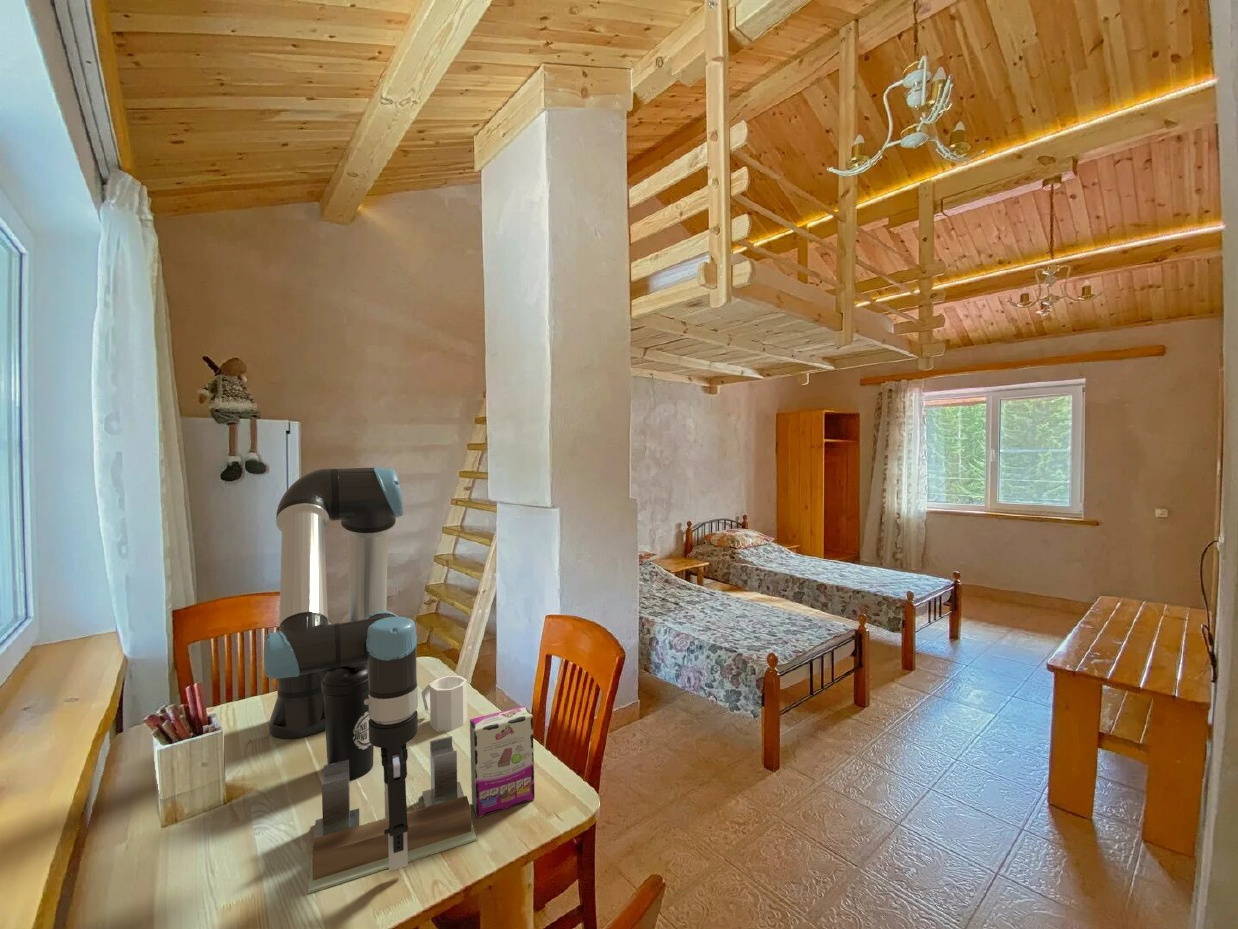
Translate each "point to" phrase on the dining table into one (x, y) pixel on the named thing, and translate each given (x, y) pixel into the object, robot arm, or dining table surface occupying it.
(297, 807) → the dining table surface
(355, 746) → the water bottle
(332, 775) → the post
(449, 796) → the post
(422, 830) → the rail
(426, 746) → the dining table surface
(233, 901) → the dining table surface
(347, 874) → the mat
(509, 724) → the candy bar box
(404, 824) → the robot arm
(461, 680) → the mug
